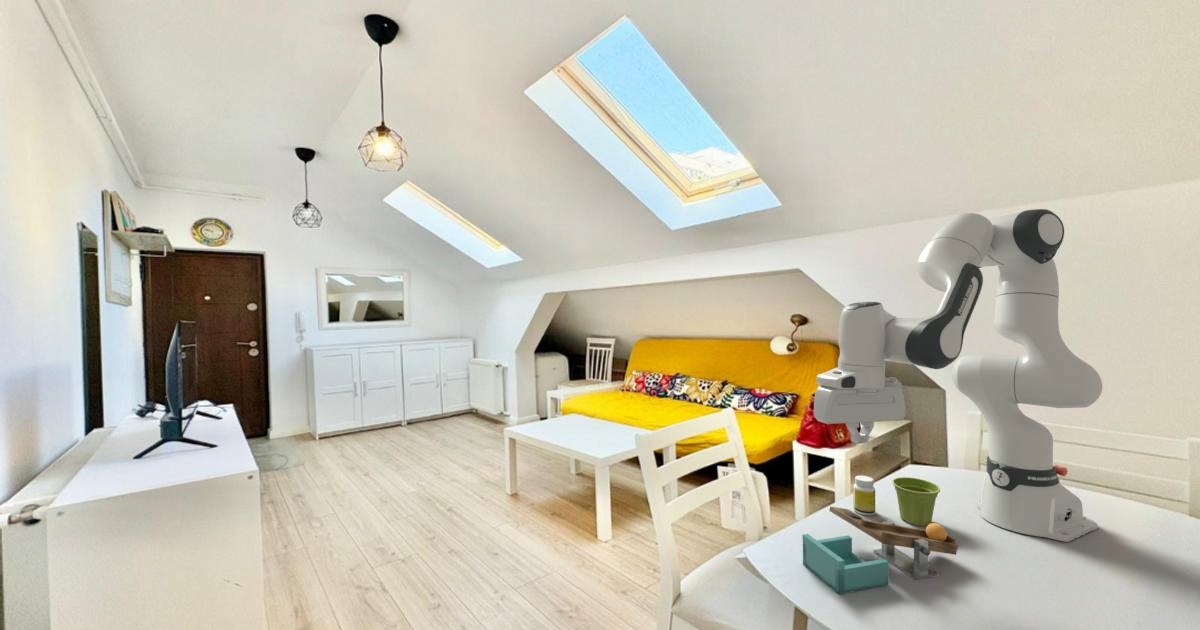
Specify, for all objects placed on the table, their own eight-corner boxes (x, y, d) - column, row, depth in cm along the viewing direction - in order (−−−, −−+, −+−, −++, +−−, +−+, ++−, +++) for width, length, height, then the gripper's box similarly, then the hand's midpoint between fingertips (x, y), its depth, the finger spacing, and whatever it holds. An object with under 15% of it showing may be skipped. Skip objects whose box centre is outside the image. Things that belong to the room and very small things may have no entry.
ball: (934, 536, 97) (935, 520, 97) (950, 545, 93) (952, 528, 93) (920, 537, 96) (922, 520, 96) (936, 545, 92) (938, 528, 92)
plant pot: (942, 534, 104) (942, 495, 104) (892, 524, 109) (892, 487, 109) (938, 517, 112) (938, 481, 112) (892, 508, 117) (892, 474, 117)
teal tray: (848, 556, 96) (848, 527, 96) (888, 585, 86) (888, 553, 86) (802, 564, 93) (802, 534, 93) (839, 594, 84) (838, 561, 83)
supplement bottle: (878, 516, 113) (878, 482, 112) (857, 515, 114) (857, 481, 113) (871, 508, 117) (871, 475, 117) (850, 506, 118) (850, 474, 118)
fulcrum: (892, 548, 98) (892, 518, 98) (938, 576, 88) (938, 542, 88) (872, 551, 97) (872, 521, 97) (916, 580, 87) (916, 546, 87)
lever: (895, 521, 106) (897, 509, 106) (955, 554, 92) (958, 540, 92) (829, 510, 102) (832, 498, 102) (882, 543, 88) (885, 529, 88)
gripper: (889, 375, 104) (888, 436, 105) (809, 376, 100) (808, 440, 100) (914, 379, 98) (912, 444, 98) (830, 380, 94) (829, 448, 94)
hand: (859, 442), depth 99 cm, fingers closed
